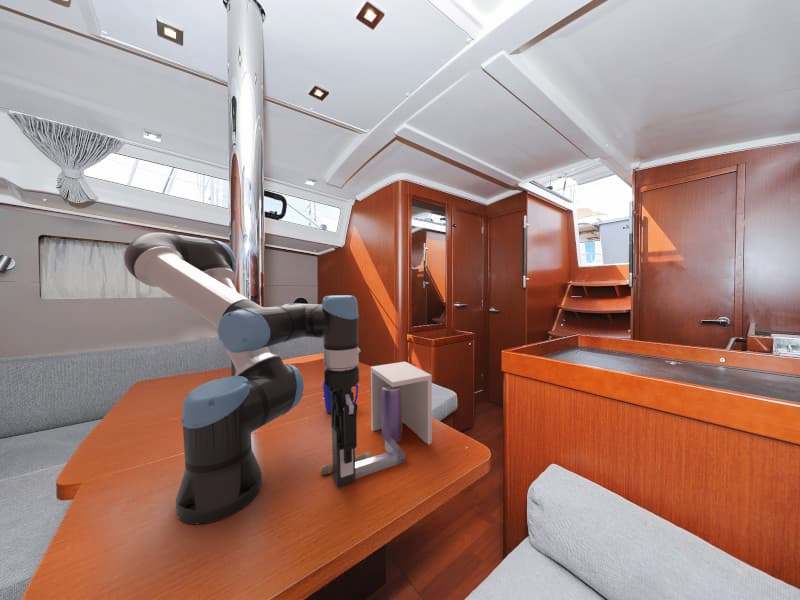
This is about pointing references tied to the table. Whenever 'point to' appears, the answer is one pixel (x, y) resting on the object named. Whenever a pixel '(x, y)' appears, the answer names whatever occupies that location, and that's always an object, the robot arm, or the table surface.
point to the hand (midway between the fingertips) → (343, 468)
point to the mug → (328, 397)
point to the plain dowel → (329, 467)
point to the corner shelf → (405, 396)
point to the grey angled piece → (367, 465)
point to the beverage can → (391, 412)
